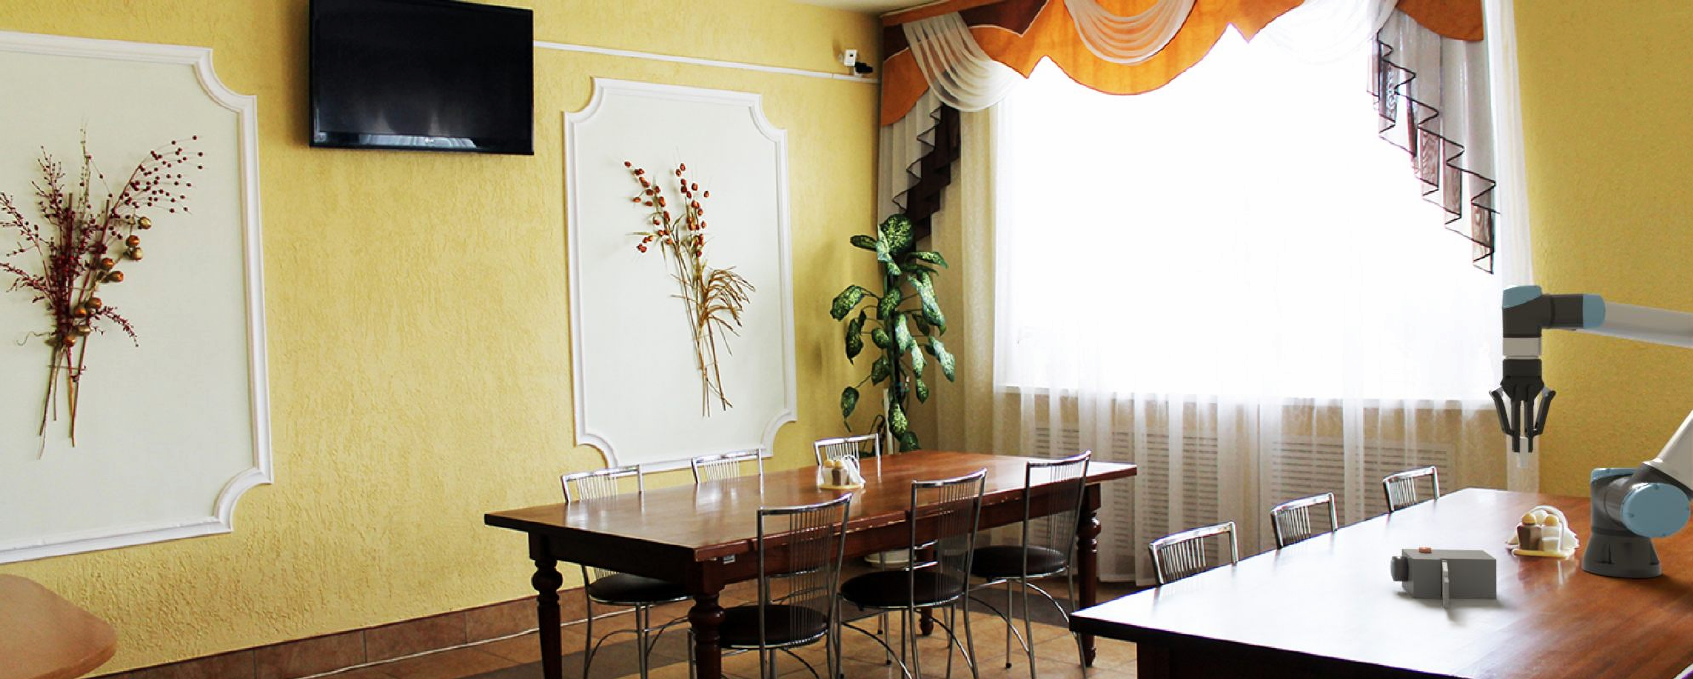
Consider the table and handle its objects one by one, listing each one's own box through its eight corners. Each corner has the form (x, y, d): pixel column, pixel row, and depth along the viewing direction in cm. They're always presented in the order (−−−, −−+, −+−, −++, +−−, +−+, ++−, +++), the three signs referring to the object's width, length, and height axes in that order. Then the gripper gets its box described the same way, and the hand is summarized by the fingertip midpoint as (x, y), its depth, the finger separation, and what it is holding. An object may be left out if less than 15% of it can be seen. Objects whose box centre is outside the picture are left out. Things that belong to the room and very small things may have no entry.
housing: (1482, 588, 278) (1482, 546, 278) (1498, 599, 267) (1497, 556, 267) (1388, 585, 282) (1388, 544, 282) (1399, 597, 271) (1399, 554, 271)
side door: (1449, 615, 255) (1449, 576, 254) (1444, 614, 255) (1443, 575, 255) (1447, 596, 270) (1446, 560, 270) (1441, 596, 270) (1441, 559, 270)
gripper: (1549, 356, 285) (1549, 465, 286) (1484, 357, 288) (1484, 465, 288) (1561, 358, 278) (1561, 470, 278) (1494, 358, 280) (1494, 469, 281)
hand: (1522, 467), depth 283 cm, fingers closed
